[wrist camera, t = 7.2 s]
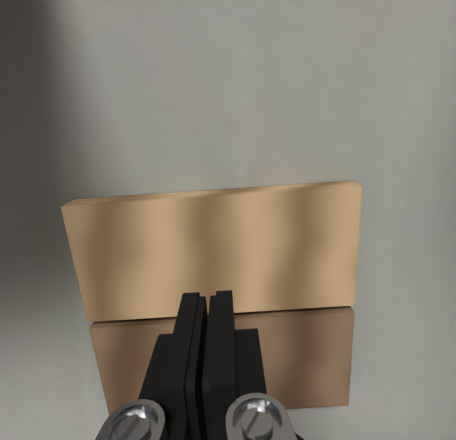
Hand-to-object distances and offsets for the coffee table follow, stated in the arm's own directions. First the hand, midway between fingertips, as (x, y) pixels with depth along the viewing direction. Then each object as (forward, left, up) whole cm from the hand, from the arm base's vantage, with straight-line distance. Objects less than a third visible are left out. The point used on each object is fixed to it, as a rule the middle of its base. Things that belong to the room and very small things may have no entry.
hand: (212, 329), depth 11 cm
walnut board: (0, +12, -13) cm, 18 cm away
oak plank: (0, +3, -13) cm, 14 cm away
